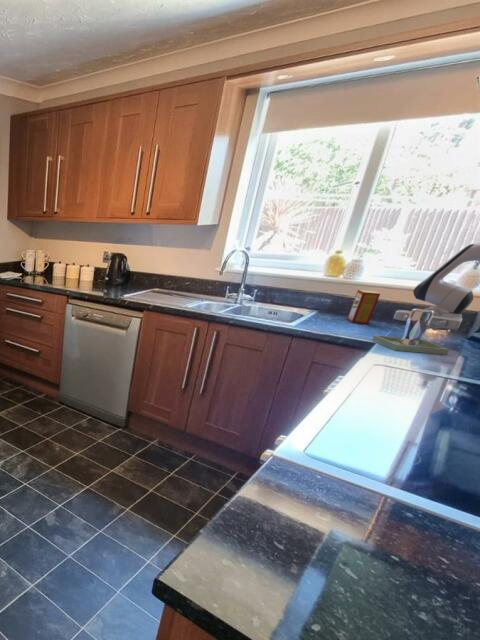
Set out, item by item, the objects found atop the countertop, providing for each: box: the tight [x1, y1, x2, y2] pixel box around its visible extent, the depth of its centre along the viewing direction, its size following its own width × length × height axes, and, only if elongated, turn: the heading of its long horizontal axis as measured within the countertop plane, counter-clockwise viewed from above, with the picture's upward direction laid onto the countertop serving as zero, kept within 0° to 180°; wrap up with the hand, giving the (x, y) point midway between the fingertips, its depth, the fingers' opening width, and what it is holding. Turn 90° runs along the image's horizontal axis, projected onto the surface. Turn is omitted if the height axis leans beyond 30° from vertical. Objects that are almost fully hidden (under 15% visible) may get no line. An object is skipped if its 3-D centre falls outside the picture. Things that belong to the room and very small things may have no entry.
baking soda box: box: [346, 289, 381, 325], centre depth 220 cm, size 10×6×16 cm
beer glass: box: [398, 308, 435, 346], centre depth 176 cm, size 7×7×15 cm
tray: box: [372, 334, 450, 356], centre depth 179 cm, size 18×16×2 cm
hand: (421, 321), depth 177 cm, fingers open, 8 cm apart
